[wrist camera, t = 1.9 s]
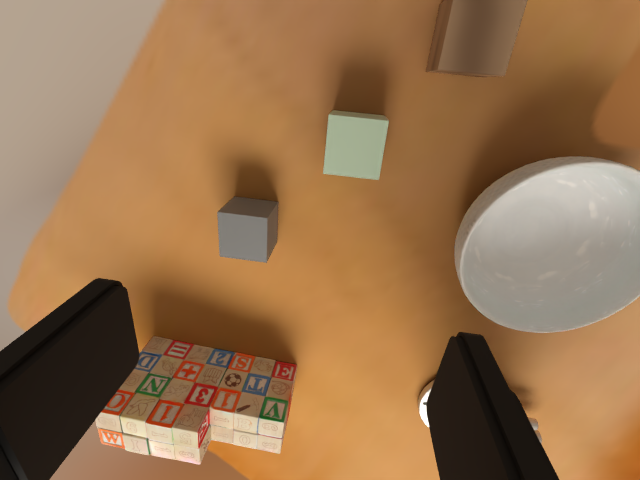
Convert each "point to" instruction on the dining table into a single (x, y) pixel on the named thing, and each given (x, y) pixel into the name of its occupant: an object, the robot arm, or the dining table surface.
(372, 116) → the sage green cube
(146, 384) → the stack of blocks
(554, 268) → the cereal bowl
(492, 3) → the walnut cube
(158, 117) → the dining table surface
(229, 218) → the gray cube
